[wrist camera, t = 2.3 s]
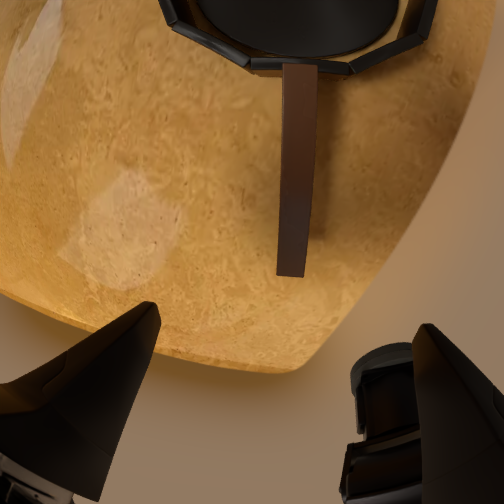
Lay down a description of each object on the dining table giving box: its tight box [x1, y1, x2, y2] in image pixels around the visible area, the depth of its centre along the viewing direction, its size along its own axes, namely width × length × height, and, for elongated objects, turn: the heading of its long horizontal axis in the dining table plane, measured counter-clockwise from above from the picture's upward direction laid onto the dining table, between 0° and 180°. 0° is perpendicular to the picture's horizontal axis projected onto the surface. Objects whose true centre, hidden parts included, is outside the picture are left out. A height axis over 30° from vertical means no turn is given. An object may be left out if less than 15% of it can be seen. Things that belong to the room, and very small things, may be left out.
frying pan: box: [158, 0, 438, 278], centre depth 9 cm, size 23×14×4 cm, turn 0°
